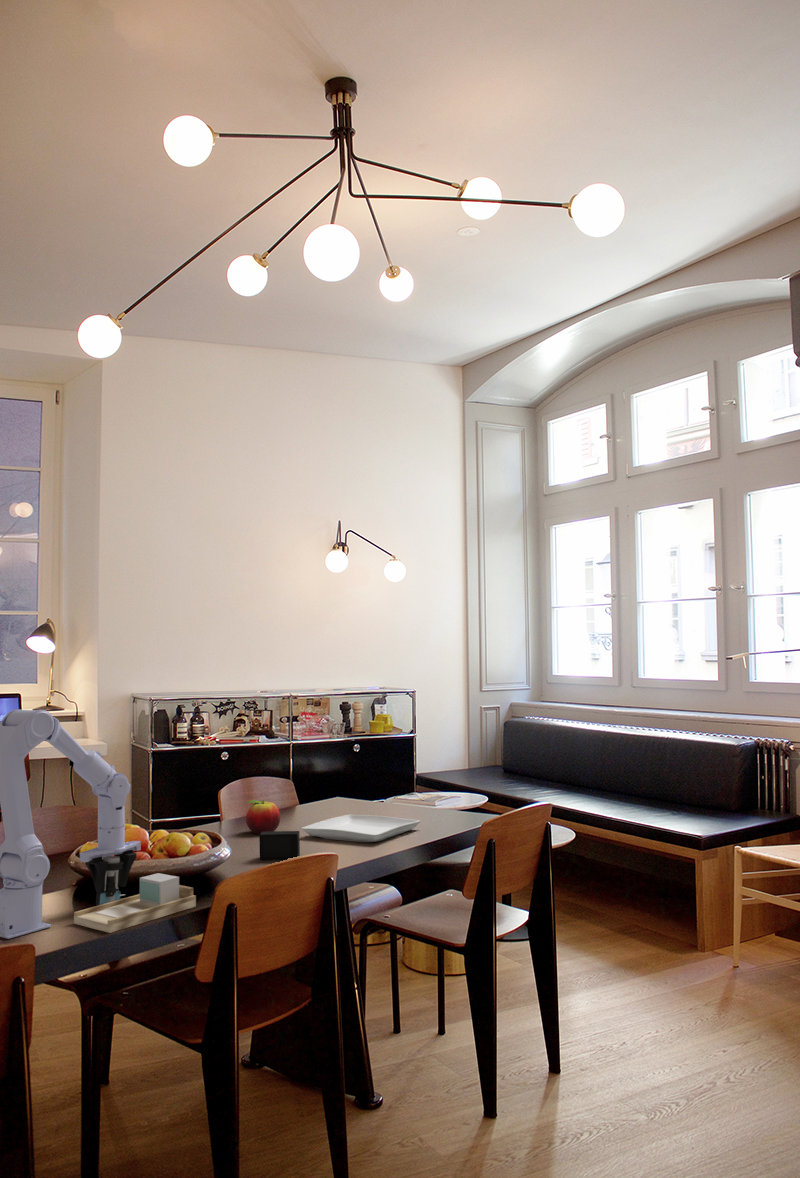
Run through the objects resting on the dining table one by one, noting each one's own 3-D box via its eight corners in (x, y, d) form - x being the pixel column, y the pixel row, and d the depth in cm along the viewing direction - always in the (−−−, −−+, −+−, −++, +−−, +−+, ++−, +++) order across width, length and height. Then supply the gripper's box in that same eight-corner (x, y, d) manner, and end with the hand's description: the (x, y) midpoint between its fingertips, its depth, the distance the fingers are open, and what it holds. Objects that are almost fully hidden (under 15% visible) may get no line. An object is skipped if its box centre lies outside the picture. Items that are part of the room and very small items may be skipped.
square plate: (376, 847, 251) (376, 833, 251) (299, 839, 264) (298, 826, 264) (422, 830, 274) (421, 818, 274) (348, 824, 288) (348, 812, 288)
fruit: (277, 835, 270) (277, 802, 271) (242, 836, 270) (242, 802, 271) (283, 828, 281) (282, 796, 282) (249, 829, 281) (249, 797, 282)
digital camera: (300, 855, 241) (300, 829, 242) (298, 860, 236) (298, 833, 236) (262, 856, 241) (262, 830, 242) (259, 860, 236) (259, 834, 236)
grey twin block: (159, 906, 187) (159, 882, 188) (138, 901, 191) (138, 878, 192) (179, 900, 192) (179, 876, 192) (158, 896, 196) (158, 873, 196)
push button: (117, 899, 199) (120, 854, 201) (130, 903, 196) (133, 856, 197) (90, 903, 194) (94, 857, 196) (103, 907, 191) (107, 860, 192)
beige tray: (110, 932, 174) (110, 912, 174) (73, 923, 181) (74, 904, 181) (195, 906, 192) (195, 888, 192) (159, 898, 199) (159, 881, 199)
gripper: (94, 833, 188) (93, 899, 187) (149, 823, 200) (149, 884, 199) (74, 830, 192) (73, 894, 191) (129, 820, 204) (129, 880, 203)
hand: (111, 889), depth 195 cm, fingers closed on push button, 5 cm apart
